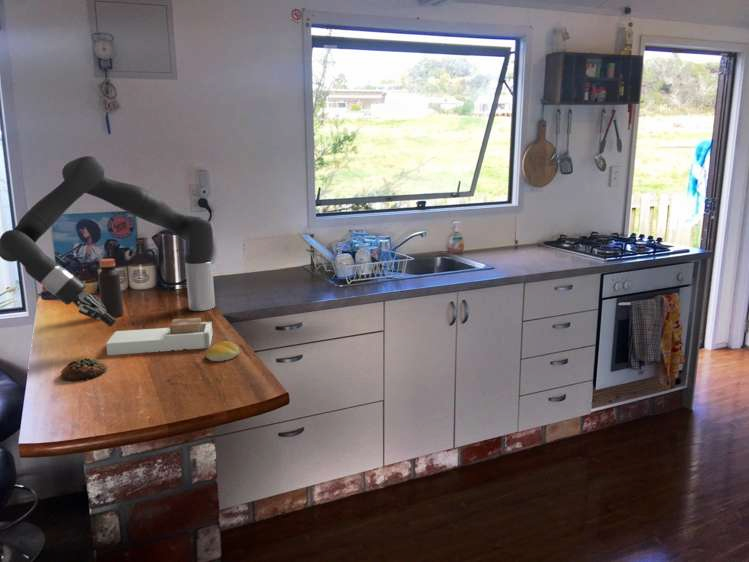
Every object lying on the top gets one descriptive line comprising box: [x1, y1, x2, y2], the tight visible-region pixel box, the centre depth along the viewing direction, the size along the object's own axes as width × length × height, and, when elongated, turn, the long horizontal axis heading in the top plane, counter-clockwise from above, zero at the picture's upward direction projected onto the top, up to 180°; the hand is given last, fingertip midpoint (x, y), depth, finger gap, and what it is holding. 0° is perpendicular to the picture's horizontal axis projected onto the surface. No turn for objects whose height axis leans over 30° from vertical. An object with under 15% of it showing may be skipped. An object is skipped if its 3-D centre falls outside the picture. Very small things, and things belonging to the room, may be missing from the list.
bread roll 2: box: [205, 340, 240, 362], centre depth 172 cm, size 8×9×4 cm
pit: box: [165, 321, 214, 352], centre depth 184 cm, size 12×12×4 cm
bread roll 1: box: [60, 358, 108, 382], centre depth 161 cm, size 11×11×5 cm
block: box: [169, 317, 202, 334], centre depth 184 cm, size 6×6×8 cm
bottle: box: [97, 258, 124, 318], centre depth 214 cm, size 7×7×20 cm
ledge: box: [105, 327, 171, 356], centre depth 182 cm, size 12×16×4 cm
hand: (113, 323), depth 179 cm, fingers closed
